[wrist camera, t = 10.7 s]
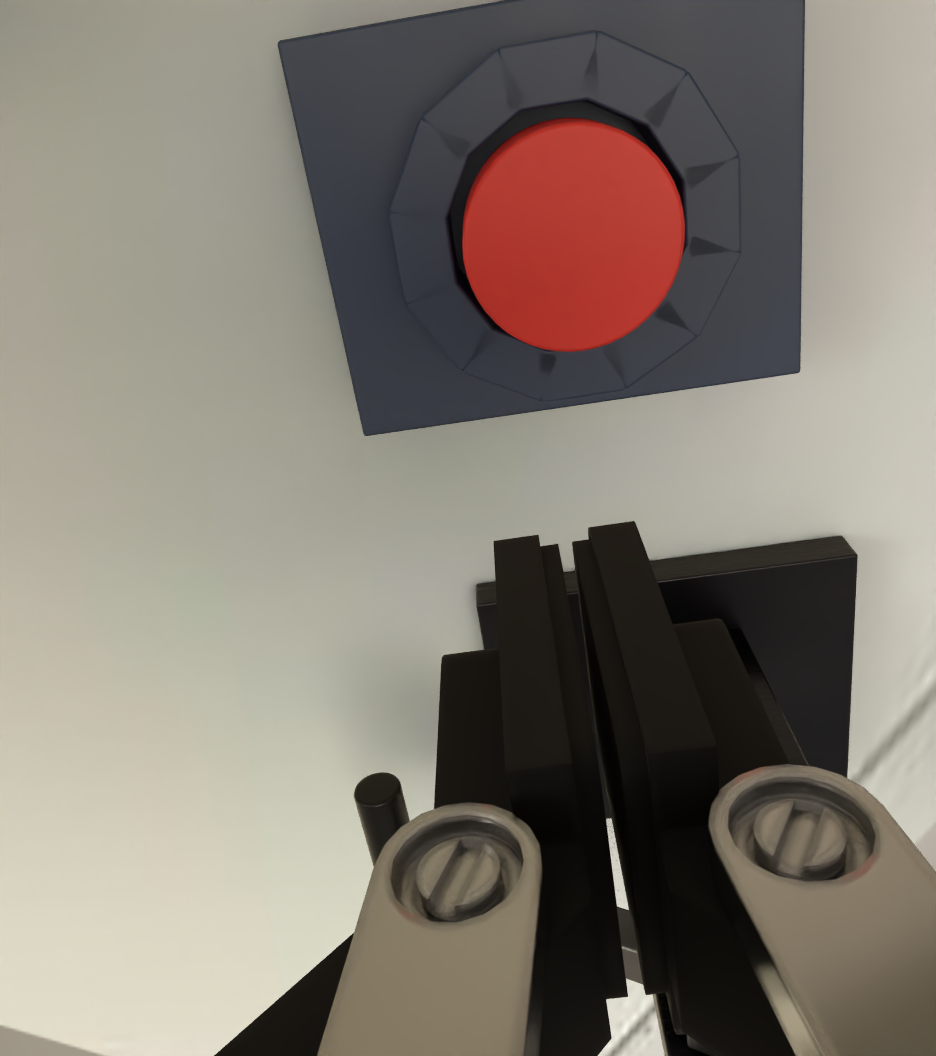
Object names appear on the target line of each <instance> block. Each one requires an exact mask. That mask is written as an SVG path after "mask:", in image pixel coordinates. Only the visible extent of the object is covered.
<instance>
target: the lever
mask: <svg viewBox="0 0 936 1056" xmlns="http://www.w3.org/2000/svg"><path fill="white" fill-rule="evenodd" d="M354 798H355V802H356V805H357V809H358V812H359V816H360V820H361V823H362V827H363V830H364V834H365V837H366V841H367V845H368V848H369V852H370V855H371V859H372V862H373V866H374V865H375V863H376V861H377V859H378V857H379V855H380V853H381V851H382V849H383V847H384V845H385V844H386V843H387V842H388V840H389V839H390V838H391V837H392V836H393V835H394V834H395V833H396V832H397V831H398V830H399V829H400V828H401V827H402V826H403V825H405V824H407V823H408V822H410V820H409V816H408V812H407V808H406V804H405V800H404V796H403V792H402V788H401V784H400V781H399V780H398V778H397V777H396V776H394V775H392V774H390V773H375V774H372V775H369V776H367V777H365V778H364V779H362V780H361V781H360V782H359V783H358V785H357V786H356V788H355V792H354ZM617 913H618V921H619V929H620V937H621V945H622V953H623V961H624V969H625V977H626V978H627V979H629V980H632V981H635V982H638V983H640V984H643V980H642V975H641V970H640V965H639V959H638V954H637V949H636V943H635V938H634V933H633V928H632V922H631V917H630V912H629V910H626V909H622V908H619V907H617ZM687 1044H688V1046H689V1047H690V1048H692V1049H695V1050H697V1051H700V1052H703V1053H705V1054H708V1055H710V1056H717V1055H715V1054H714V1053H712V1052H711V1051H710V1050H708V1049H707V1048H705V1047H704V1046H702V1045H701V1044H700V1043H698V1042H697V1041H695V1040H694V1039H692V1038H691V1037H690V1036H688V1035H687Z"/></svg>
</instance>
